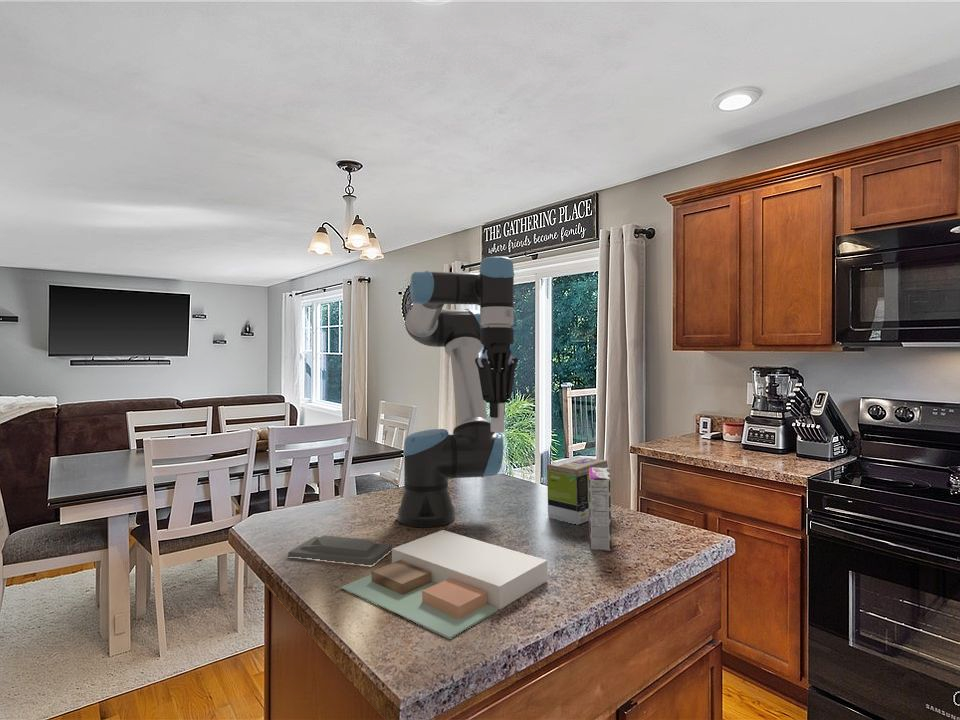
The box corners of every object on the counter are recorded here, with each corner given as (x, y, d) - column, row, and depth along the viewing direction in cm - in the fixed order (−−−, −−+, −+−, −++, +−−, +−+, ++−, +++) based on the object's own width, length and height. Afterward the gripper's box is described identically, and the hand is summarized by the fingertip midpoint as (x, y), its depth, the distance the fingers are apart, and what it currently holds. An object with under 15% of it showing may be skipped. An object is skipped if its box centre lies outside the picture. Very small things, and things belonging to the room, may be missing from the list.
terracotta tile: (422, 602, 94) (422, 590, 94) (450, 588, 99) (450, 578, 99) (459, 618, 88) (459, 606, 88) (486, 603, 93) (486, 592, 93)
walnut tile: (371, 581, 102) (371, 570, 102) (399, 569, 108) (399, 560, 108) (402, 595, 96) (402, 584, 96) (430, 582, 102) (430, 571, 102)
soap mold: (315, 544, 125) (314, 529, 125) (393, 553, 120) (393, 537, 120) (287, 560, 115) (287, 544, 115) (371, 571, 110) (371, 554, 110)
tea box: (579, 506, 153) (579, 455, 153) (609, 513, 146) (609, 460, 146) (546, 517, 143) (546, 462, 143) (577, 526, 136) (577, 468, 136)
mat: (340, 588, 100) (340, 586, 100) (390, 568, 109) (390, 566, 109) (450, 639, 82) (450, 637, 82) (498, 610, 91) (498, 608, 91)
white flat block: (392, 568, 110) (391, 548, 110) (442, 547, 121) (442, 529, 121) (499, 609, 92) (499, 586, 92) (547, 580, 103) (547, 560, 103)
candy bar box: (588, 533, 130) (588, 466, 130) (609, 535, 129) (609, 467, 129) (588, 550, 119) (588, 477, 119) (611, 552, 118) (611, 478, 118)
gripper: (492, 325, 112) (492, 436, 113) (527, 327, 122) (527, 430, 123) (465, 326, 117) (465, 433, 118) (501, 328, 127) (501, 427, 128)
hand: (497, 431), depth 120 cm, fingers closed
